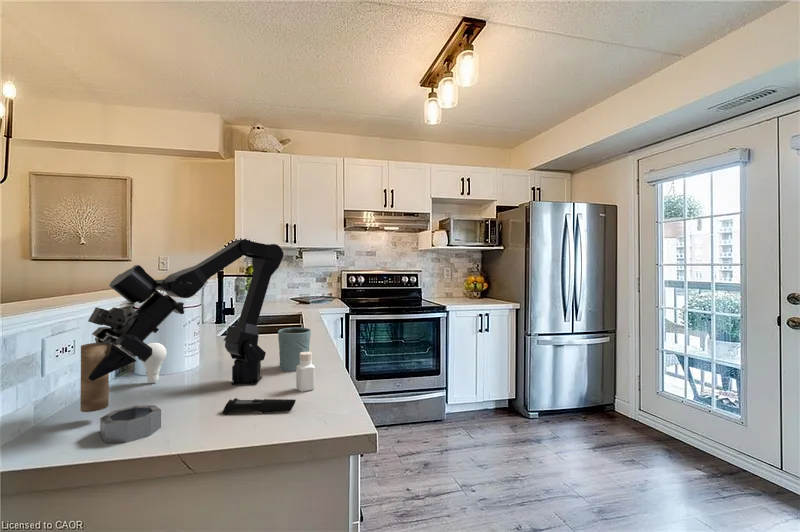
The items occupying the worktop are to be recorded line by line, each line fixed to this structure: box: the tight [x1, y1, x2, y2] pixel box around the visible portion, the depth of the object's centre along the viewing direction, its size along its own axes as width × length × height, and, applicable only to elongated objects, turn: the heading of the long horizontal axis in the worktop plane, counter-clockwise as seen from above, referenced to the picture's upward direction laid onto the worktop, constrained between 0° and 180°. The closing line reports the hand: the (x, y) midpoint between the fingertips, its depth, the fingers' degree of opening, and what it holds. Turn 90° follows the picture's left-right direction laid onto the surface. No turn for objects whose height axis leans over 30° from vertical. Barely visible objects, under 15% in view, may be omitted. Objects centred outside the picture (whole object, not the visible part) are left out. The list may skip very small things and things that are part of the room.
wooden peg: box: [79, 342, 110, 413], centre depth 78 cm, size 4×4×13 cm
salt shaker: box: [295, 351, 316, 393], centre depth 99 cm, size 4×4×10 cm
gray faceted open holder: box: [99, 404, 162, 444], centre depth 73 cm, size 9×9×4 cm
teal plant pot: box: [277, 327, 312, 372], centre depth 120 cm, size 10×10×12 cm
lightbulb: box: [141, 342, 167, 384], centre depth 103 cm, size 6×6×11 cm
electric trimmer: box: [221, 397, 297, 415], centre depth 84 cm, size 4×16×3 cm, turn 93°
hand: (86, 377), depth 77 cm, fingers closed on wooden peg, 4 cm apart
